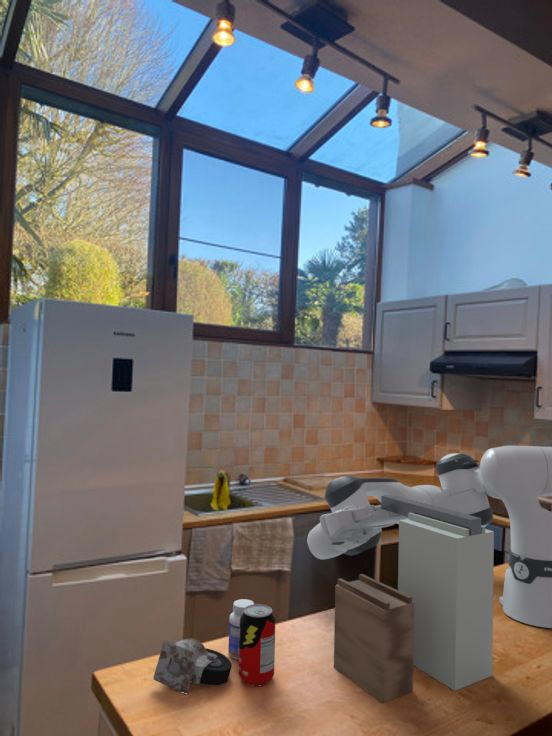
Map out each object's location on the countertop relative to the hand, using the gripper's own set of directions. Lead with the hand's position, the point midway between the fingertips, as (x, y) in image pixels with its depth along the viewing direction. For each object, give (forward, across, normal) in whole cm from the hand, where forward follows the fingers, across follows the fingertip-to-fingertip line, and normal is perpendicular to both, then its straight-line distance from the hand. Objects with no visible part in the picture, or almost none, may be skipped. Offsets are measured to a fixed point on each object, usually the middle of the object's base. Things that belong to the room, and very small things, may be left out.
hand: (389, 506), depth 115 cm
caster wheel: (-17, +42, -22) cm, 50 cm away
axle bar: (+8, 0, -6) cm, 10 cm away
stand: (-1, 0, -30) cm, 30 cm away
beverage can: (-12, +33, -24) cm, 42 cm away
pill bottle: (-20, +31, -20) cm, 42 cm away
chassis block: (-3, +15, -29) cm, 33 cm away
